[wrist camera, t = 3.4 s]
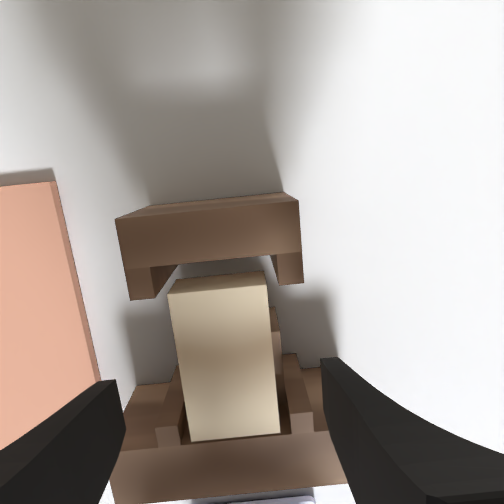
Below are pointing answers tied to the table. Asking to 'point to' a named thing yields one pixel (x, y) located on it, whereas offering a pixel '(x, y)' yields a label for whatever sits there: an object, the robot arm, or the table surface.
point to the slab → (225, 355)
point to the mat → (39, 312)
